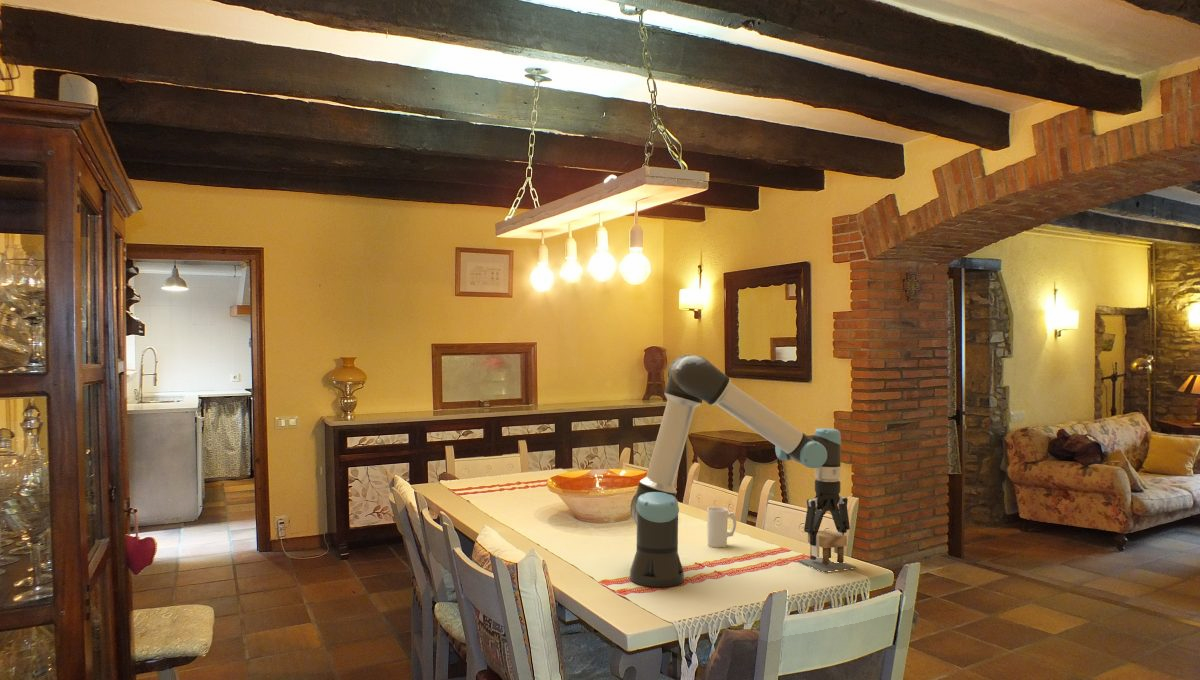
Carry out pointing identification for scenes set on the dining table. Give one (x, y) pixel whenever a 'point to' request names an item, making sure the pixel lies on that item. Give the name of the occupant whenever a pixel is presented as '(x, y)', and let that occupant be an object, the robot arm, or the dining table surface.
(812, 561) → the mat
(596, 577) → the dining table surface
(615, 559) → the dining table surface
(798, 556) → the dining table surface
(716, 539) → the mug
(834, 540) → the stool
